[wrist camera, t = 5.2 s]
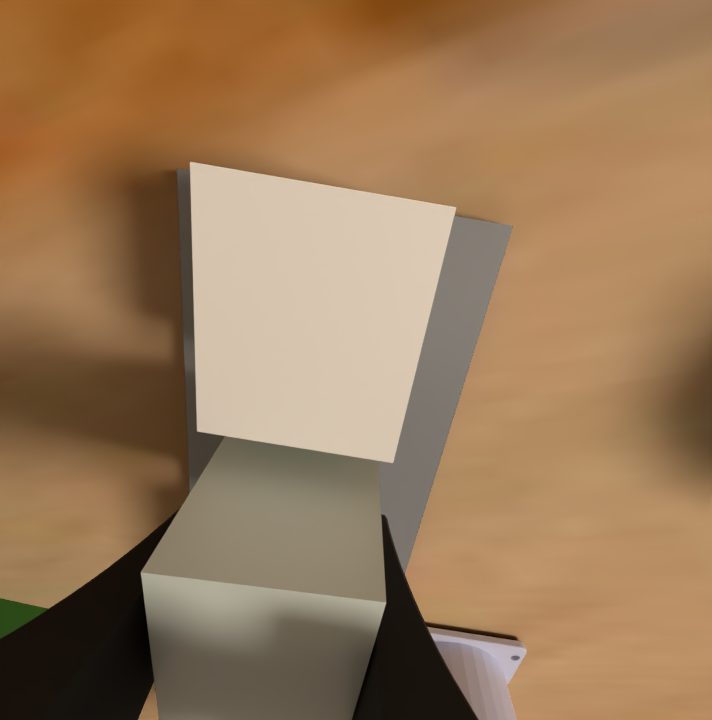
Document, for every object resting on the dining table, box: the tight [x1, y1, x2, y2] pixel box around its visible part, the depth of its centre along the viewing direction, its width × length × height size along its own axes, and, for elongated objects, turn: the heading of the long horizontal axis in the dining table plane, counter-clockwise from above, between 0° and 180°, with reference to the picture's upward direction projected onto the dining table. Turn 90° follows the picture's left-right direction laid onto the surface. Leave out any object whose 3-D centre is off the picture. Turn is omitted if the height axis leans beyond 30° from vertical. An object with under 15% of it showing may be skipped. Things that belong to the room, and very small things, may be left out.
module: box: [141, 436, 386, 720], centre depth 10 cm, size 6×5×6 cm
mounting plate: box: [177, 162, 513, 574], centre depth 13 cm, size 20×11×6 cm, turn 171°
